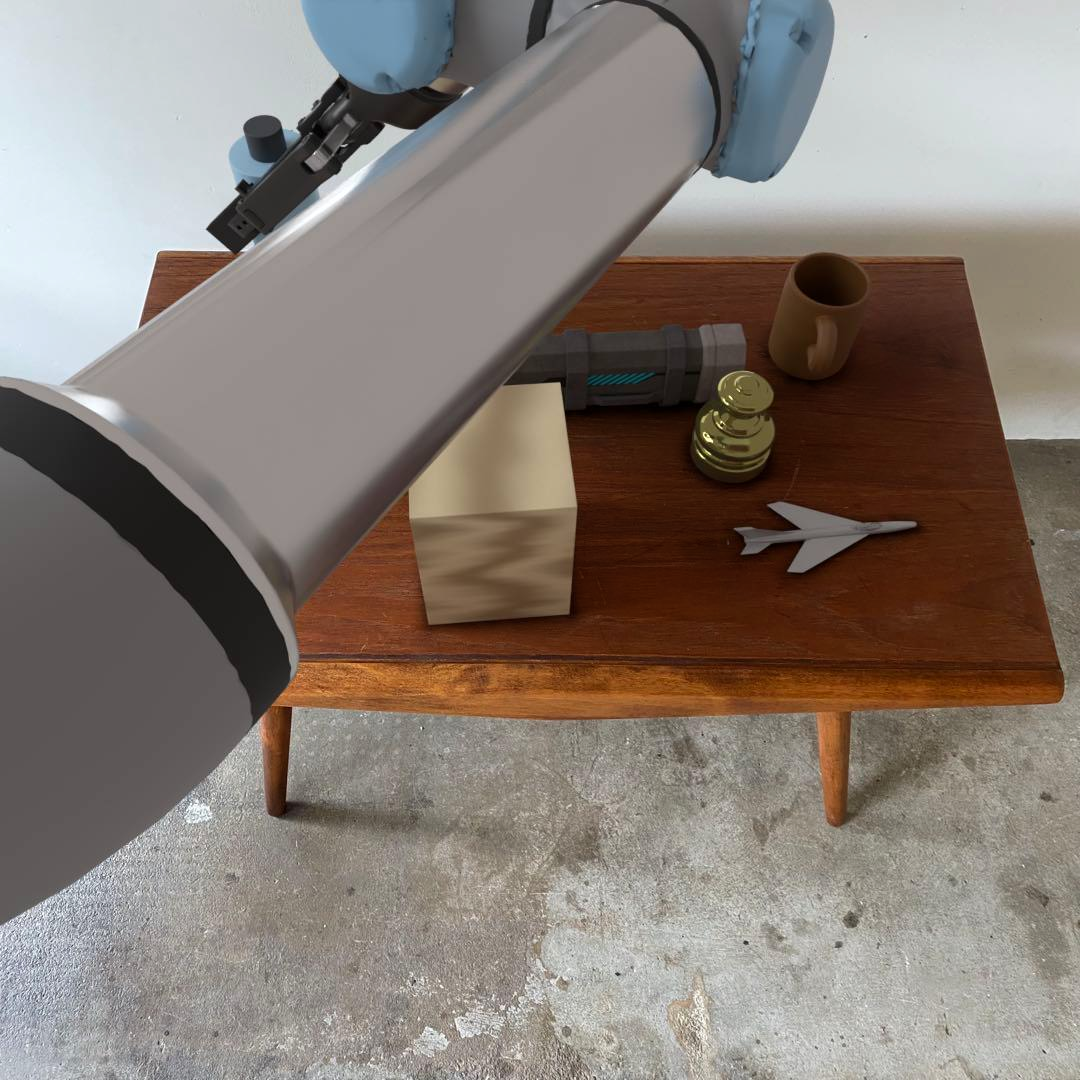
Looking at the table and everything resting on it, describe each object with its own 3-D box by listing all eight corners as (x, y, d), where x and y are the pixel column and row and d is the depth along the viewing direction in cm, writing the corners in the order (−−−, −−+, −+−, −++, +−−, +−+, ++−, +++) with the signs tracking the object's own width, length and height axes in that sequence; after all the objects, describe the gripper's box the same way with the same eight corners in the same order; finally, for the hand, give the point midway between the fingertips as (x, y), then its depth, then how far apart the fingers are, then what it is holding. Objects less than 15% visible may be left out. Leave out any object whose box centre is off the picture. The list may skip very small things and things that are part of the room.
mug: (844, 424, 94) (876, 351, 86) (761, 412, 95) (784, 339, 86) (845, 331, 101) (874, 256, 93) (768, 321, 102) (789, 245, 93)
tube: (441, 390, 100) (731, 351, 98) (445, 449, 97) (742, 410, 96) (419, 335, 89) (742, 291, 88) (423, 400, 87) (755, 356, 85)
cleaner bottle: (256, 280, 73) (216, 153, 64) (261, 231, 76) (224, 103, 67) (330, 276, 74) (301, 148, 64) (332, 228, 77) (305, 100, 67)
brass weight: (740, 498, 89) (762, 429, 81) (673, 458, 92) (688, 386, 83) (781, 450, 92) (806, 378, 84) (716, 412, 95) (734, 339, 86)
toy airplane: (930, 562, 85) (939, 548, 84) (699, 585, 84) (703, 571, 82) (902, 493, 90) (910, 478, 88) (681, 513, 88) (685, 499, 86)
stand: (428, 625, 82) (409, 518, 68) (425, 509, 88) (406, 391, 75) (569, 614, 82) (577, 506, 69) (555, 500, 89) (560, 382, 75)
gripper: (411, 182, 54) (225, 329, 70) (517, 12, 63) (331, 176, 80) (306, 74, 50) (135, 256, 66) (435, -89, 60) (259, 105, 76)
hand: (243, 212), depth 73 cm, fingers closed on cleaner bottle, 6 cm apart
